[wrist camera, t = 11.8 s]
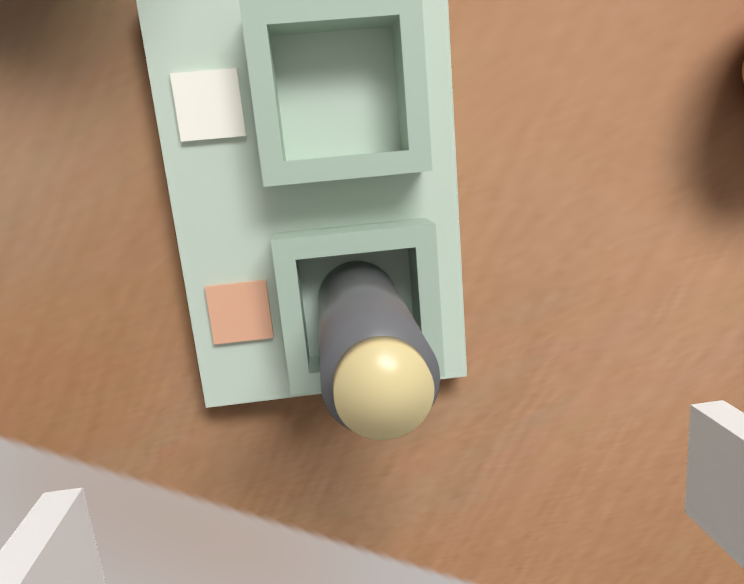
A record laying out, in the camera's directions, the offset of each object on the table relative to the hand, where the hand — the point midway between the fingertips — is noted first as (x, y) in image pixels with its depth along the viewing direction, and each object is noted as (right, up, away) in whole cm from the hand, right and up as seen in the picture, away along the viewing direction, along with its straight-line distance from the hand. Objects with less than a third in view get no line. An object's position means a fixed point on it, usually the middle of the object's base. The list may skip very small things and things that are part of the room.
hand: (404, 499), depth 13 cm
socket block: (-4, +9, +18) cm, 20 cm away
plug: (-1, +4, +17) cm, 18 cm away
